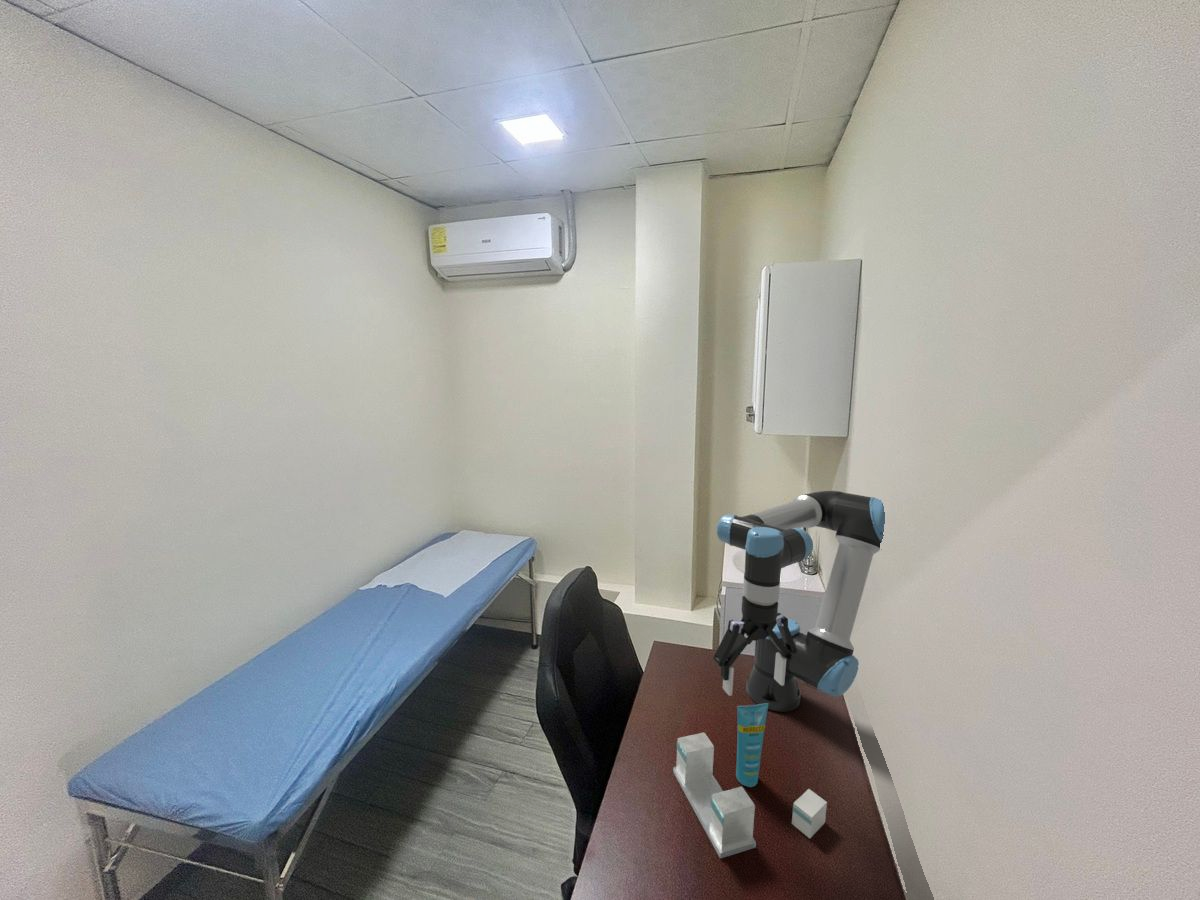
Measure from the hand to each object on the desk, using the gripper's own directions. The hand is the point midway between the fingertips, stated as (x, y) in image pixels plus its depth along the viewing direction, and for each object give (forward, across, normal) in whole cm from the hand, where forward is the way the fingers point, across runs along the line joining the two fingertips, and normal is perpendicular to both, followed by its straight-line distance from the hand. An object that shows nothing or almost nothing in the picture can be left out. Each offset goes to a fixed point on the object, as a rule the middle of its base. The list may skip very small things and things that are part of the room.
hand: (753, 686), depth 104 cm
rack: (+24, +12, +4) cm, 27 cm away
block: (+24, -6, +13) cm, 28 cm away
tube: (+24, 0, 0) cm, 24 cm away
